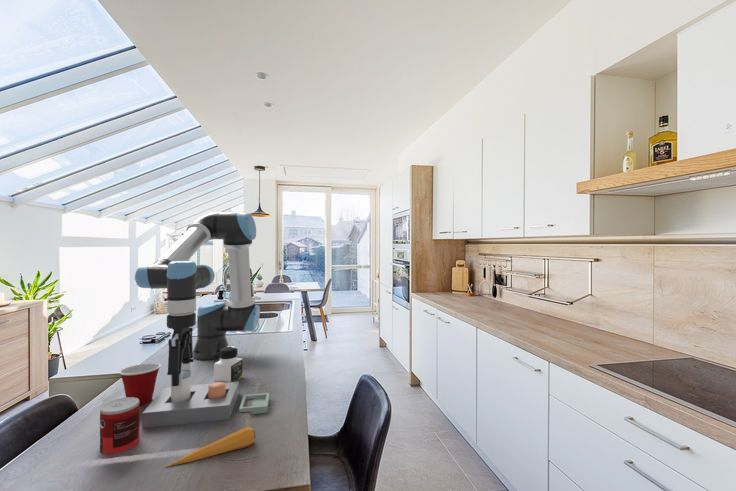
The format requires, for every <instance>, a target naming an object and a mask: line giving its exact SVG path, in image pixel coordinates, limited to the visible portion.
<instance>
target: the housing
mask: <svg viewBox="0 0 736 491" xmlns="http://www.w3.org/2000/svg"><path fill="white" fill-rule="evenodd" d="M225 383H226V398H215V399H208V386H209V385H210V384H211V383H206V384H205V383H203V384H194V385H193V384H192V385H191V398H190V401H184V402H173V403H171V386H165V387H164V388H163V389H162V390H161V391H160V392H159V394H158V395H157V396H156V397H155V398H154V399H152V401H151V402H150V403H149V405H148V406H147V407H146V408H145V409H144V411H142V413H141V414H142V415H141V417H142V418H141V420H142V421H141V423H142V424H141V428H142V429H144V428H145V429H146V428H147V429H148V428H154V427H165V426H174V425H175V426H176V425H185V424H194V423H195V424H196V423H206V422H216V421H225V420H226V421H227V420H230V419H231V416H232V414H233V411H234V408H235V406H236V402H237V400H238V397H239V395H240V381H232V382H225Z"/></svg>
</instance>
